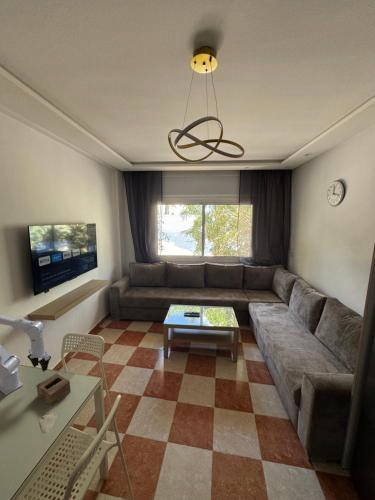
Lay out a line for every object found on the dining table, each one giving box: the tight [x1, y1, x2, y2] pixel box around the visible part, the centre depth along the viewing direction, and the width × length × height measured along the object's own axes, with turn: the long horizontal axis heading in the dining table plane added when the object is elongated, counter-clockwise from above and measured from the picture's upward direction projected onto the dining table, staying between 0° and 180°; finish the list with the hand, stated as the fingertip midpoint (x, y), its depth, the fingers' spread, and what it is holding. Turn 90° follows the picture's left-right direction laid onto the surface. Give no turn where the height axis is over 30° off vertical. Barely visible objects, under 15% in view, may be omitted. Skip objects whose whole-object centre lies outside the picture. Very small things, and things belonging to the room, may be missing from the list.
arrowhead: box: [39, 412, 58, 434], centre depth 100 cm, size 7×2×10 cm
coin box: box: [36, 372, 71, 406], centre depth 116 cm, size 12×10×6 cm
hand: (40, 368), depth 120 cm, fingers open, 7 cm apart
